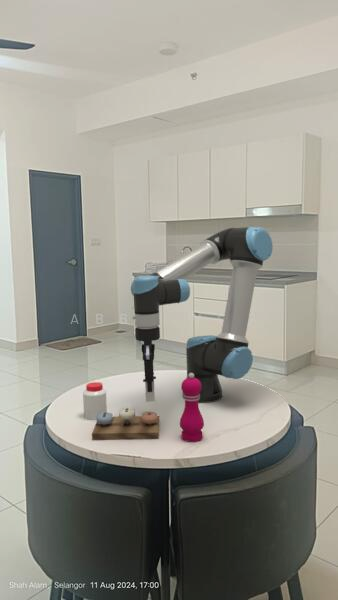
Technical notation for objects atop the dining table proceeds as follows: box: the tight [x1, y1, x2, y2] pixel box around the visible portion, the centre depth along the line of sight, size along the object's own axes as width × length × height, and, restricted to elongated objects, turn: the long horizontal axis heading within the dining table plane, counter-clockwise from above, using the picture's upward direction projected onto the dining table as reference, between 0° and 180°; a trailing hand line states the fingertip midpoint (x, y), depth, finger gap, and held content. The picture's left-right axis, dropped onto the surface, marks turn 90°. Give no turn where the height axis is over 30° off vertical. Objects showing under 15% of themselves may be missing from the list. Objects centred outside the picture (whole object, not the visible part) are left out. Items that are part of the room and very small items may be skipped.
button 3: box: [96, 411, 114, 426], centre depth 152 cm, size 5×5×4 cm
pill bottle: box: [82, 381, 108, 421], centre depth 165 cm, size 8×8×11 cm
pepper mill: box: [179, 373, 205, 443], centre depth 145 cm, size 7×7×20 cm
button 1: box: [140, 411, 158, 425], centre depth 152 cm, size 5×5×4 cm
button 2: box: [118, 407, 136, 424], centre depth 152 cm, size 5×5×4 cm
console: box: [91, 415, 160, 441], centre depth 152 cm, size 20×14×2 cm
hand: (150, 400), depth 152 cm, fingers closed
